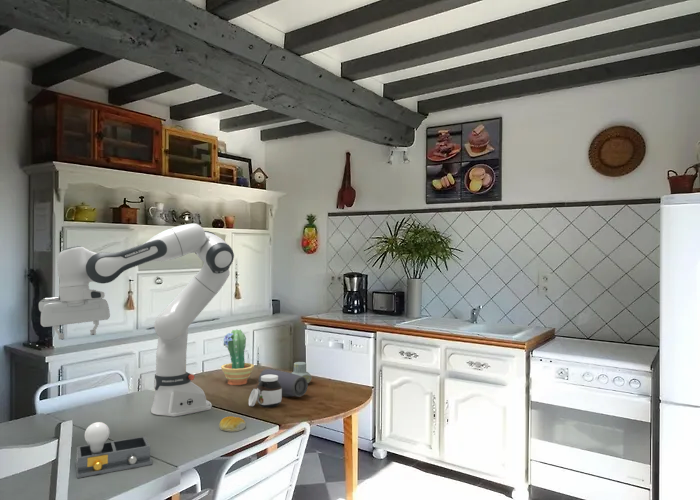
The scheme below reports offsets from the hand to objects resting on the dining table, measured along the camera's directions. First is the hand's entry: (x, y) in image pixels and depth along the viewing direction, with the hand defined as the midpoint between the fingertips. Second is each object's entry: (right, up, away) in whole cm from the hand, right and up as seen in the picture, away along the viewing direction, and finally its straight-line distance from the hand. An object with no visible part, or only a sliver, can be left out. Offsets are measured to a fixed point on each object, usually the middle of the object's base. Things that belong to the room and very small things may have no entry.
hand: (77, 337), depth 168 cm
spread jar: (+56, -34, +36) cm, 74 cm away
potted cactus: (+37, -34, +72) cm, 88 cm away
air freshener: (+67, -35, +71) cm, 103 cm away
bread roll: (+49, -34, +9) cm, 60 cm away
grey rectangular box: (+22, -32, -23) cm, 45 cm away
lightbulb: (+18, -32, -24) cm, 43 cm away
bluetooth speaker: (+61, -34, +53) cm, 88 cm away
